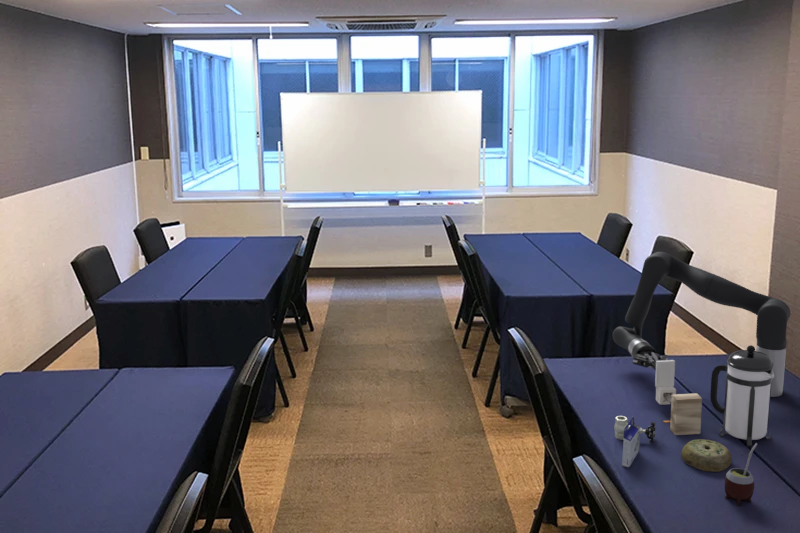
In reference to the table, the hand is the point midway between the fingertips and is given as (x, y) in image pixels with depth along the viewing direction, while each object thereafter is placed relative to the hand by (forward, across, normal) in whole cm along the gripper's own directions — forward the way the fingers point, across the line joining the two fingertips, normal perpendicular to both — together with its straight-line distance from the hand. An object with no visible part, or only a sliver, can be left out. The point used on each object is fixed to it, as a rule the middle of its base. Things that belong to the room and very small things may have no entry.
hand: (659, 368), depth 251 cm
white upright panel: (+6, 0, +10) cm, 11 cm away
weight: (+42, -2, +13) cm, 44 cm away
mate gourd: (+62, -2, +13) cm, 63 cm away
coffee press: (+27, +16, +13) cm, 34 cm away
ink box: (+38, -22, +13) cm, 46 cm away
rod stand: (+14, 0, +12) cm, 19 cm away
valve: (+26, -18, +13) cm, 34 cm away
